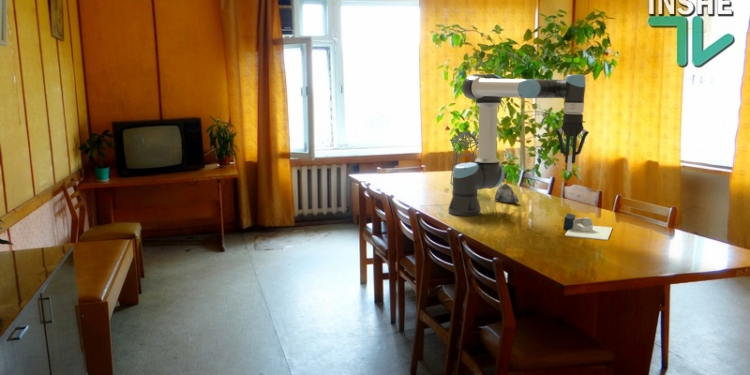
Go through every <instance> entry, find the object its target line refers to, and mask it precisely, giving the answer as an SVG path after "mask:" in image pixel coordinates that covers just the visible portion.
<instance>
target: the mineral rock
mask: <svg viewBox="0 0 750 375" xmlns="http://www.w3.org/2000/svg"><path fill="white" fill-rule="evenodd" d="M494 201H496V202H500V203H507V204H512V203H513V204H515V203H520V201H519V198H518V195H517V194H516V193H515V192H514V190H513V187H512V186H510V185H509V184H508V183H503V184H502V183H501V184H500V185H499V186H497V189H496V192H495V194H494Z"/></svg>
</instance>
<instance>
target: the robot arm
mask: <svg viewBox="0 0 750 375" xmlns="http://www.w3.org/2000/svg"><path fill="white" fill-rule="evenodd" d="M586 85H587V84H586V75H584V74H567V75H566V76H565V79H549V78H548V79H539V78H536V79H533V78H528V79H527V78H520V79H519V78H503V77H502V76H500V75H497V74H485V73H483V74H482V73H481V74H476V73H474V74H473V73H472V74H469V75H468V76H466V77H465V78H464V79H463V81H462V83H461V91H462V93H463V95H464V96H465V97H466V98H467V99H470V100H473V101H474V100H475V105H476V106H478V137H477V138H478V148H477V153H478V154H477V159H476V158H475V159H474V162H473V163H472V162H470V163H469V162H462V163H461V162H460V164H459V163H457V165H456V166H455V165H454V166H453V174H452V183H453V186H452V196H451V200H450V202H449V206H448V214H451V215H453V216H461V217H473V216H478V215H481V213H482V212H481V211H482V208H481V205H480V201H479V198H478V190H484V189H486V190H487V189H493V188H496V187H497V188H498V187H499V186H500V184H502V183H503V182H504V178H505V170H504V168H503V166H502V165H501V164H500V160H499V159H498V158H497V147H498V146H497V140H498V139H497V138H498V136H497V135H498V134H497V133H498V107H499V106H500V105H501V104H502V99H503V98H504V97H505V98H524V99H564V102H563V103H564V104H563V121H562V125H561V128H558V129H556V130H555V134H556V135H557V137H558V143H559V148H560V153H561V154H563V155H564V158H565V159H564V162H565V164H567V167H566V168H567V169H566V171H567V172H568V173H569V172H572V171H573V164H575V163H576V157H577V155H581V152H582V149H583V147H584V143H585V140H586V137H587V136H588V134H589V133H590V132H589V130H586V129H585V128H584V124H583V122H584V114H583V113H584V108H585V95H586V94H585V93H586V87H587V86H586ZM563 133H564V135H565V137H566V140H565V144H564V140H563ZM580 134H581V135H582V136H581V138H580V141H579V145H578V148H577V144H578V136H579V135H580ZM571 138H572V150H571ZM564 145H565V146H564ZM570 150H571V154H570Z"/></svg>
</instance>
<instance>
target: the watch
mask: <svg viewBox="0 0 750 375" xmlns="http://www.w3.org/2000/svg"><path fill="white" fill-rule="evenodd" d="M578 224H579V225H578ZM580 225H582V226H584V227H581V226H580ZM593 226H594V222H593V220H592V218H590V217H589V216H587V217H578V218H576V214H572V213H566V215H565V216H564V220H563V227H562V228H563V230H565V231H568V230H569V229H572V228H574V229H576V230H578V231H582V232H590V231H592V229H593ZM583 228H584V229H583Z"/></svg>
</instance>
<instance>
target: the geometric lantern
mask: <svg viewBox="0 0 750 375" xmlns="http://www.w3.org/2000/svg"><path fill="white" fill-rule="evenodd" d="M478 138H479V137H476V136H475V135H474V134H472V133H471V132H470V131H463V132H461V133H459V134H457V135H456V136H454V137H453V138H452V137H451V138H450V139H449V141H450V143H451V145H452V150H454V152H455V153H453V158H452V166H451V175H450V184H451V186H452V187H453V169H454V167H455V166H456V165H458V164H461V157H469V162H468V163H474V161H475V160H476V159H477V158H478V154H477V151H478ZM463 139H464V140H463ZM467 139H468V140H467ZM463 143H464V144H463ZM456 144H457V145H458V149H456ZM472 144H473V145H472ZM474 146H475V148H474V150H473V147H474ZM461 147H463V149H462V150H461V152H460V153H458V152H459V150H460V148H461ZM465 149H466V151H467V152H468V154H462V152H464V150H465ZM469 149H470V151H471V152H470V151H469ZM476 154H477V155H476Z"/></svg>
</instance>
